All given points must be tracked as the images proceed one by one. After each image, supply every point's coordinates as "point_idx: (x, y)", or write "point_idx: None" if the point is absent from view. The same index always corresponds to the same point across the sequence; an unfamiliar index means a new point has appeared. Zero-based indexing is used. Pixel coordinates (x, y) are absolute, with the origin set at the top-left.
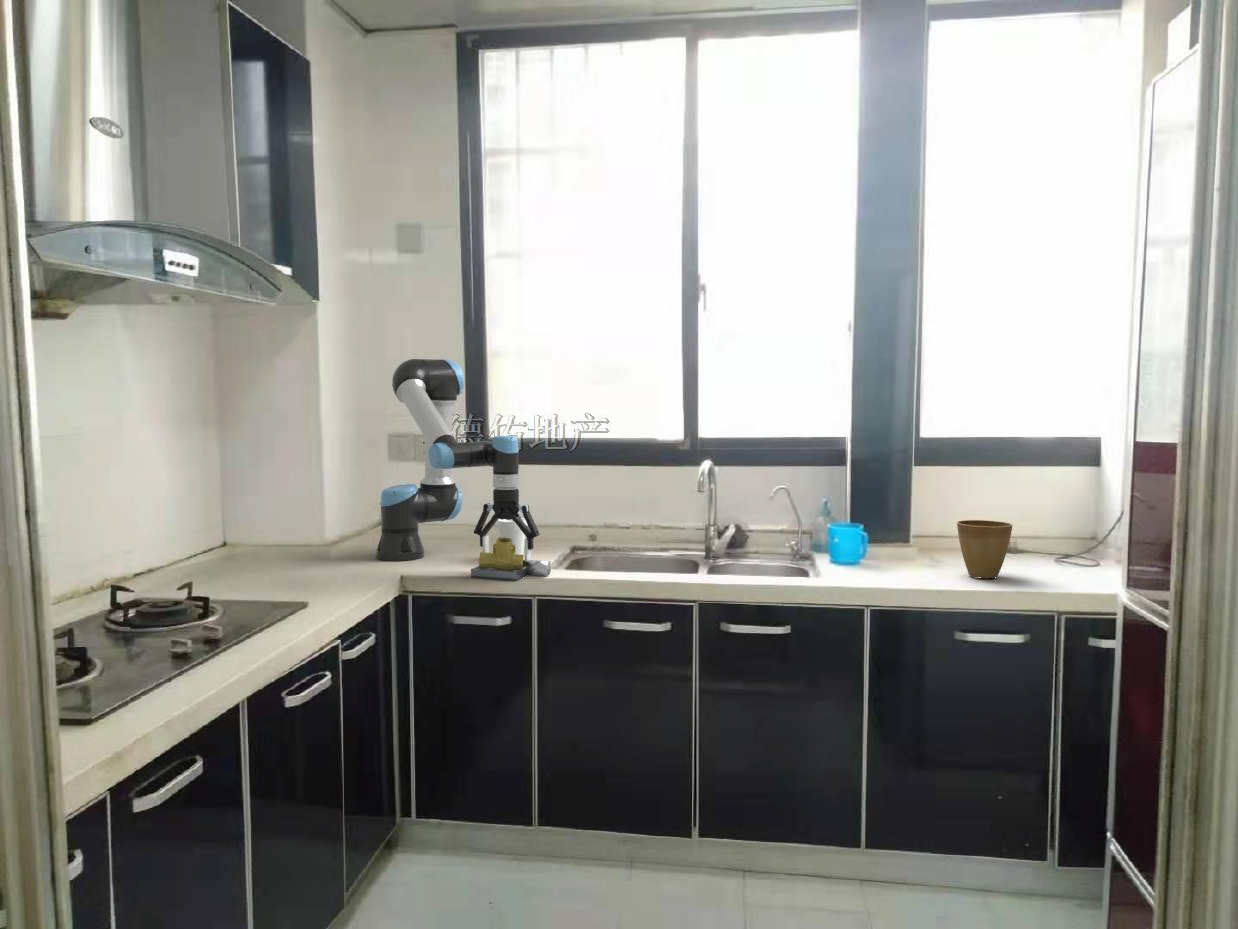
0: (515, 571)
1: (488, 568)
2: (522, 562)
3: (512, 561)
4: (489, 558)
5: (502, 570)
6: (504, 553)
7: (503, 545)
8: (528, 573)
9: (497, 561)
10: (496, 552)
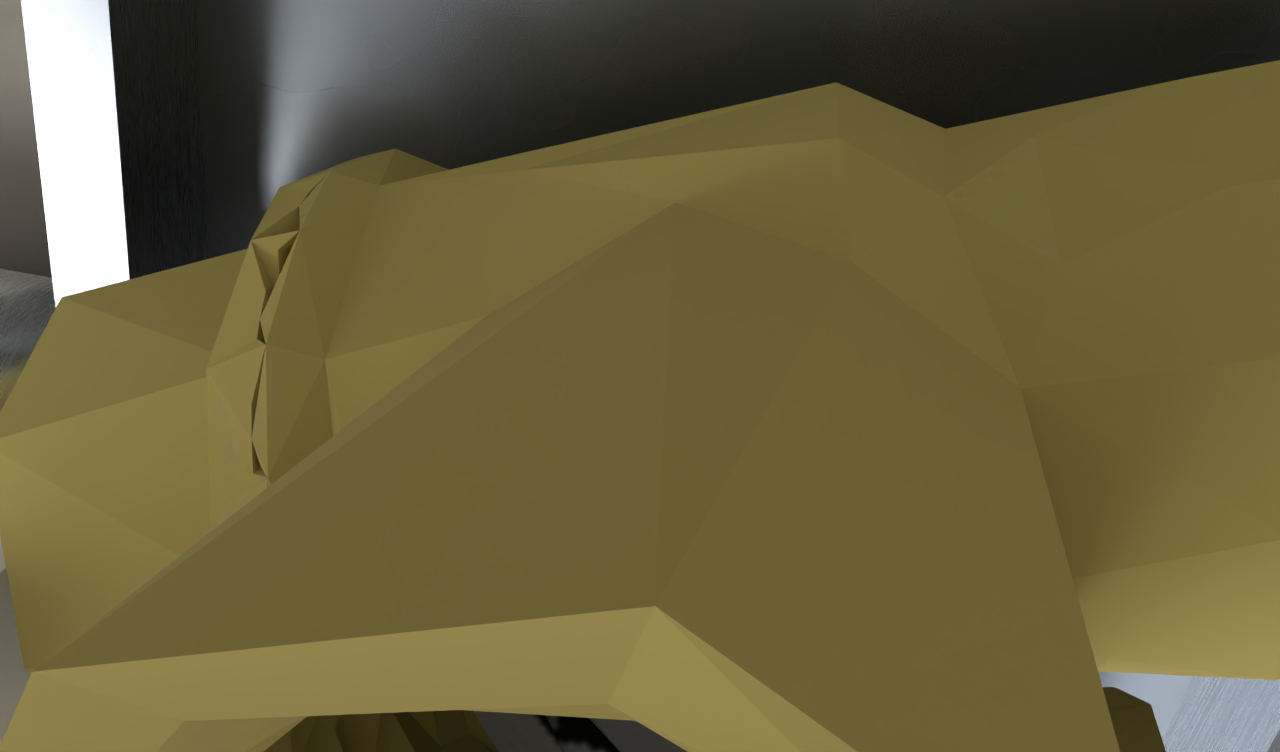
0: None
1: None
2: (43, 340)
3: (307, 242)
4: (1270, 170)
5: None
6: (533, 314)
7: (449, 485)
8: None
9: (872, 136)
10: (993, 424)
